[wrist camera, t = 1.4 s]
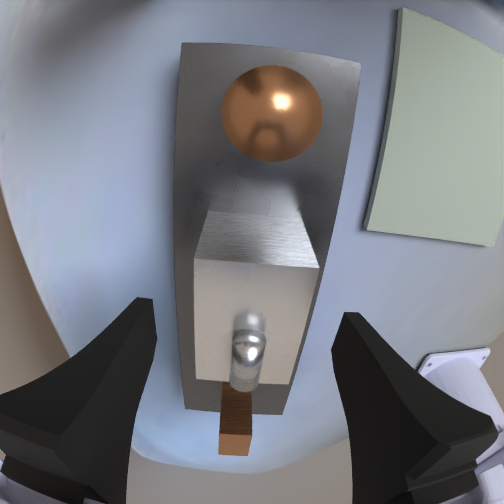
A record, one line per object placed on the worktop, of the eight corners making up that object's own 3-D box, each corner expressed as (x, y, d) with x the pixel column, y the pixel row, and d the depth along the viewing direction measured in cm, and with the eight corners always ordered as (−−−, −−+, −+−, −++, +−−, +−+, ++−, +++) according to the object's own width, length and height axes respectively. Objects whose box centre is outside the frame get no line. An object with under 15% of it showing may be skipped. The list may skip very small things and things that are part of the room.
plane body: (279, 388, 23) (285, 461, 17) (189, 382, 23) (178, 456, 17) (344, 66, 13) (407, 56, 7) (192, 50, 12) (152, 24, 6)
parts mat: (488, 242, 17) (493, 246, 17) (363, 225, 17) (366, 230, 16) (526, 74, 11) (532, 74, 11) (398, 9, 11) (403, 6, 10)
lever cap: (281, 324, 17) (290, 404, 12) (205, 319, 16) (193, 399, 12) (301, 219, 14) (326, 287, 9) (208, 210, 13) (188, 277, 9)
